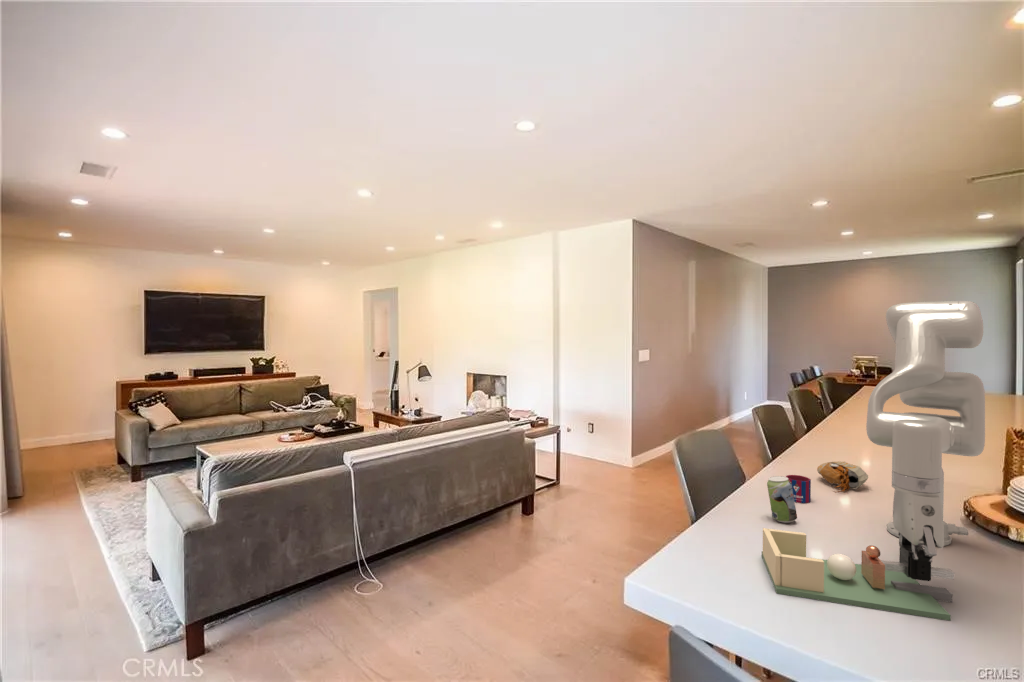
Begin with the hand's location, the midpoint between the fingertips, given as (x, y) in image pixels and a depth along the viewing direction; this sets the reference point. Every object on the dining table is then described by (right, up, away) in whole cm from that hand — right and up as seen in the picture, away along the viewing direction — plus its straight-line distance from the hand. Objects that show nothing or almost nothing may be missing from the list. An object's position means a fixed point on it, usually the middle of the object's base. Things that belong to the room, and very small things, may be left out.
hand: (914, 573), depth 94 cm
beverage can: (-5, -4, +37) cm, 38 cm away
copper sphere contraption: (-1, -3, 0) cm, 3 cm away
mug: (+10, -4, +55) cm, 56 cm away
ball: (-12, -1, +4) cm, 13 cm away
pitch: (-10, -4, +3) cm, 11 cm away
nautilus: (+31, -3, +66) cm, 73 cm away
